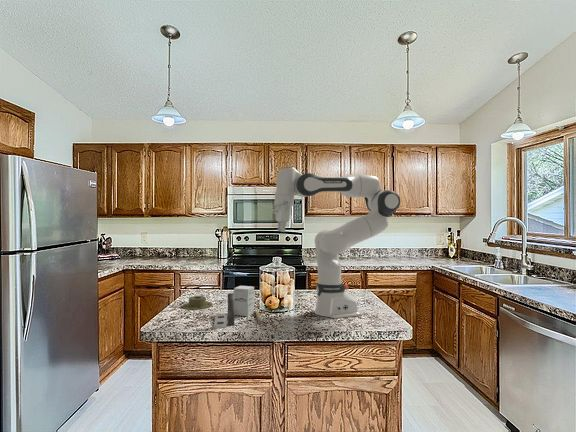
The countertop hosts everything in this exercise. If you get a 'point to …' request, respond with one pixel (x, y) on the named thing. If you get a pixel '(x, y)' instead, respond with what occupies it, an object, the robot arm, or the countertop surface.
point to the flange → (197, 303)
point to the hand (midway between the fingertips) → (281, 231)
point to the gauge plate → (220, 321)
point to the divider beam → (231, 310)
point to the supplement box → (243, 300)
